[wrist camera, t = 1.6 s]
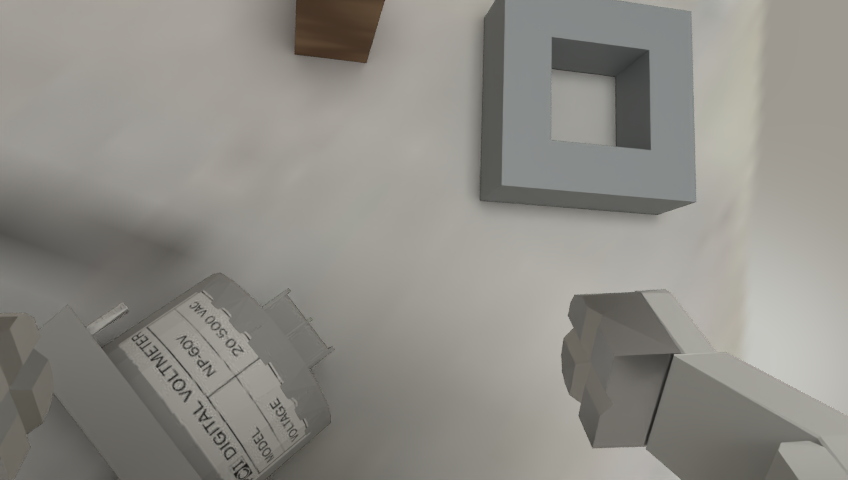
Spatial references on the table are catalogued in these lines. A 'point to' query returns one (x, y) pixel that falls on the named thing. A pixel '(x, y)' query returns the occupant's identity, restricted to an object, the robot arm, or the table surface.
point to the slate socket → (635, 105)
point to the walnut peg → (336, 28)
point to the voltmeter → (193, 385)
